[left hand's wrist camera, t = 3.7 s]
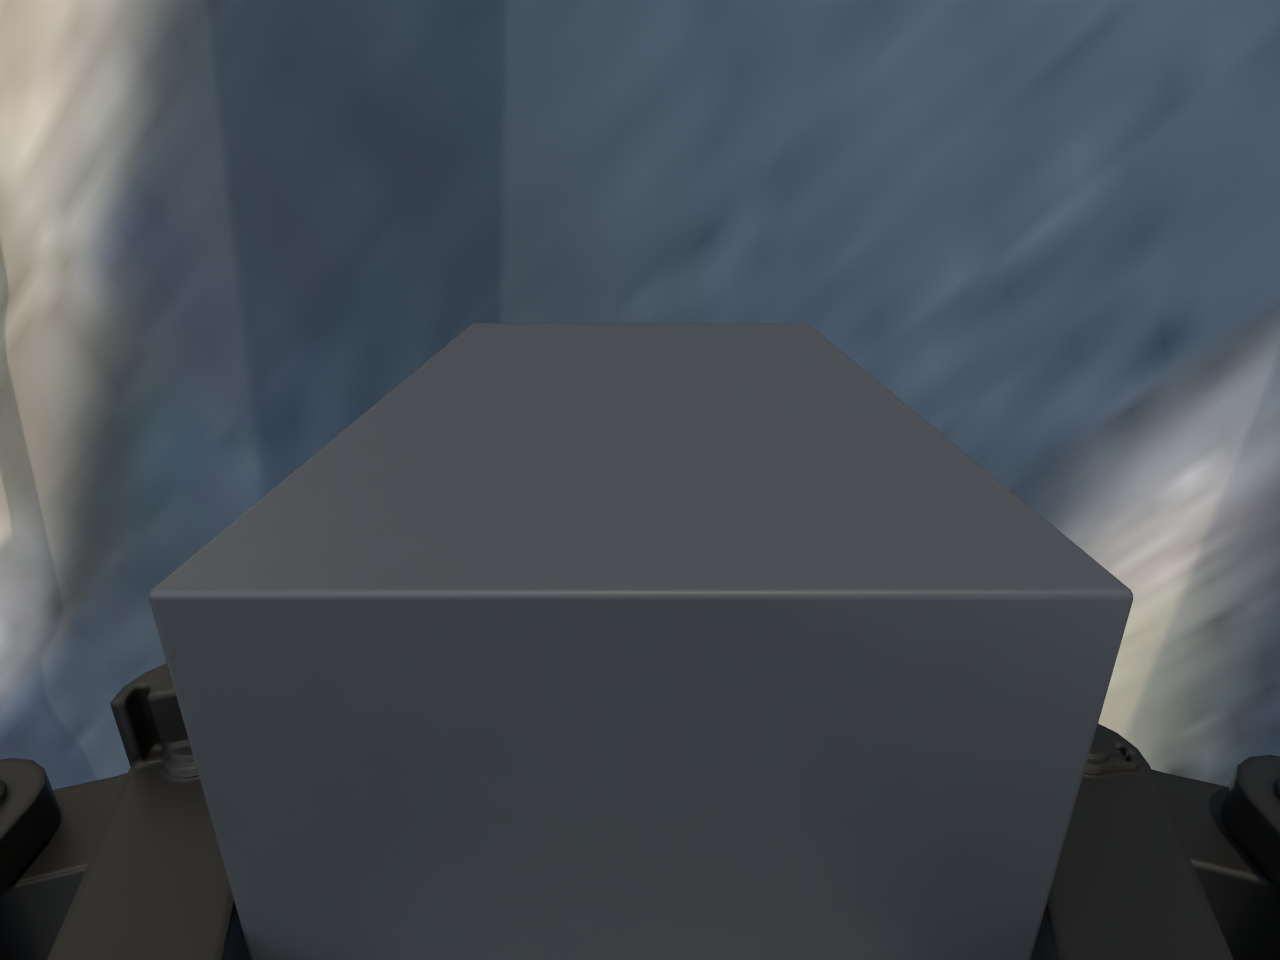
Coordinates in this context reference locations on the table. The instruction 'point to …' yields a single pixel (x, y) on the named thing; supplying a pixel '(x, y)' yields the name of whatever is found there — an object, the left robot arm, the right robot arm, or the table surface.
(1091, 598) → the box
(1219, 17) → the table surface
